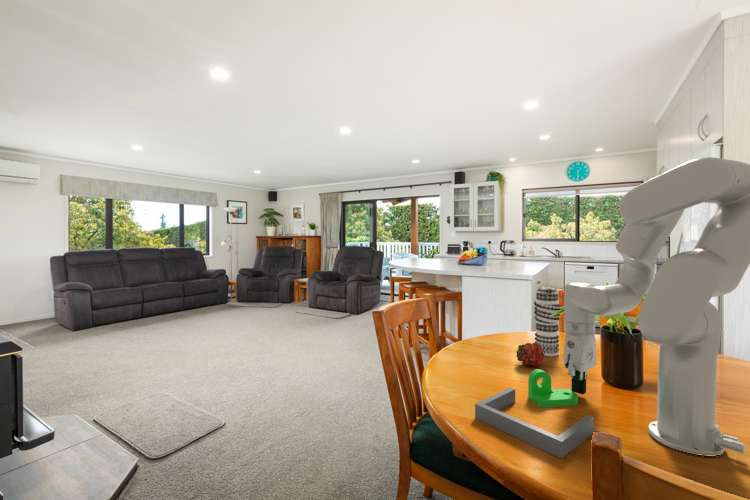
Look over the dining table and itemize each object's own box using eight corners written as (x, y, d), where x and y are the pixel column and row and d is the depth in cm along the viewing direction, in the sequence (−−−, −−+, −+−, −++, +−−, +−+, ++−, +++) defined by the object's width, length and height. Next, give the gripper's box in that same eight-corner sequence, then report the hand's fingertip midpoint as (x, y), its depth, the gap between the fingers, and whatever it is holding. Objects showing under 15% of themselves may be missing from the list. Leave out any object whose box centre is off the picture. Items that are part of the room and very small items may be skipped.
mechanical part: (540, 408, 94) (540, 378, 93) (528, 397, 100) (528, 369, 99) (583, 405, 95) (583, 375, 95) (568, 395, 101) (568, 367, 101)
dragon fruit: (517, 373, 121) (537, 370, 128) (537, 363, 116) (557, 361, 123) (506, 348, 126) (526, 347, 133) (525, 339, 120) (545, 338, 127)
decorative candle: (548, 357, 131) (548, 290, 130) (528, 350, 140) (528, 287, 139) (565, 354, 135) (566, 288, 134) (545, 347, 144) (545, 285, 143)
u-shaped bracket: (593, 432, 81) (594, 417, 81) (561, 458, 72) (562, 441, 72) (510, 399, 98) (510, 387, 98) (475, 417, 89) (475, 403, 89)
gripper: (581, 334, 92) (580, 404, 93) (605, 325, 101) (604, 389, 102) (552, 329, 98) (551, 394, 99) (577, 321, 107) (577, 381, 108)
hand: (578, 392), depth 100 cm, fingers closed
